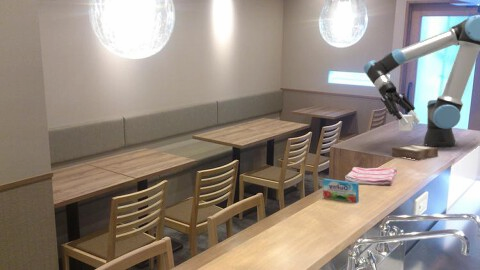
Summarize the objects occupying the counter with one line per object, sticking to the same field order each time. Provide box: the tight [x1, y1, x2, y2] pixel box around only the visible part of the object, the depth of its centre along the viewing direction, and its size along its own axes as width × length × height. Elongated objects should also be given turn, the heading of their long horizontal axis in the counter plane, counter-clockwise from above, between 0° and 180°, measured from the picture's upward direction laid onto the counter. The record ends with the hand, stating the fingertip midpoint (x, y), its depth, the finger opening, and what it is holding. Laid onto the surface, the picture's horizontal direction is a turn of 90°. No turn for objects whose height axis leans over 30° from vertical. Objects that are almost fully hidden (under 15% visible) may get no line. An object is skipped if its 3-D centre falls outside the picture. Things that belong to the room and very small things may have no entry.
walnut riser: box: [391, 143, 439, 161], centre depth 212 cm, size 14×14×4 cm
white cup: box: [397, 114, 414, 132], centre depth 214 cm, size 7×7×7 cm
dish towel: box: [344, 166, 398, 186], centre depth 177 cm, size 17×23×4 cm
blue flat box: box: [322, 178, 360, 204], centre depth 150 cm, size 12×2×6 cm, turn 50°
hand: (411, 123), depth 211 cm, fingers closed on white cup, 7 cm apart
